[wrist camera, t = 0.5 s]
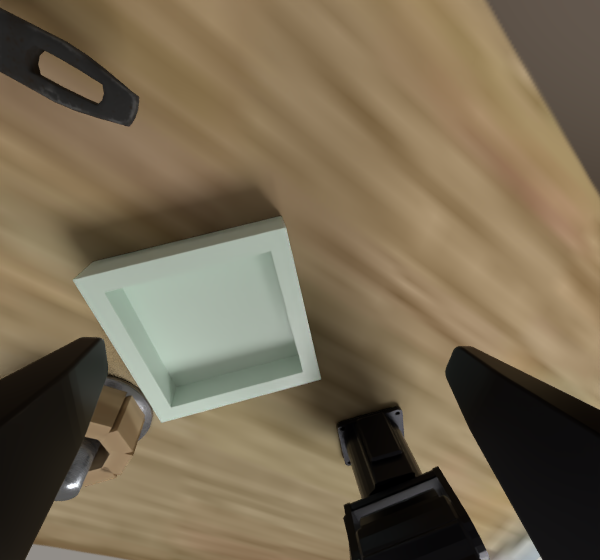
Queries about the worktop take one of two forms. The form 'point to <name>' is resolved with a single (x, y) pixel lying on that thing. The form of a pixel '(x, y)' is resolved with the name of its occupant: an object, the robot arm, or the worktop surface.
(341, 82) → the worktop surface
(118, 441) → the ring
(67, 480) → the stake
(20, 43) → the frying pan
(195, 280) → the tray
